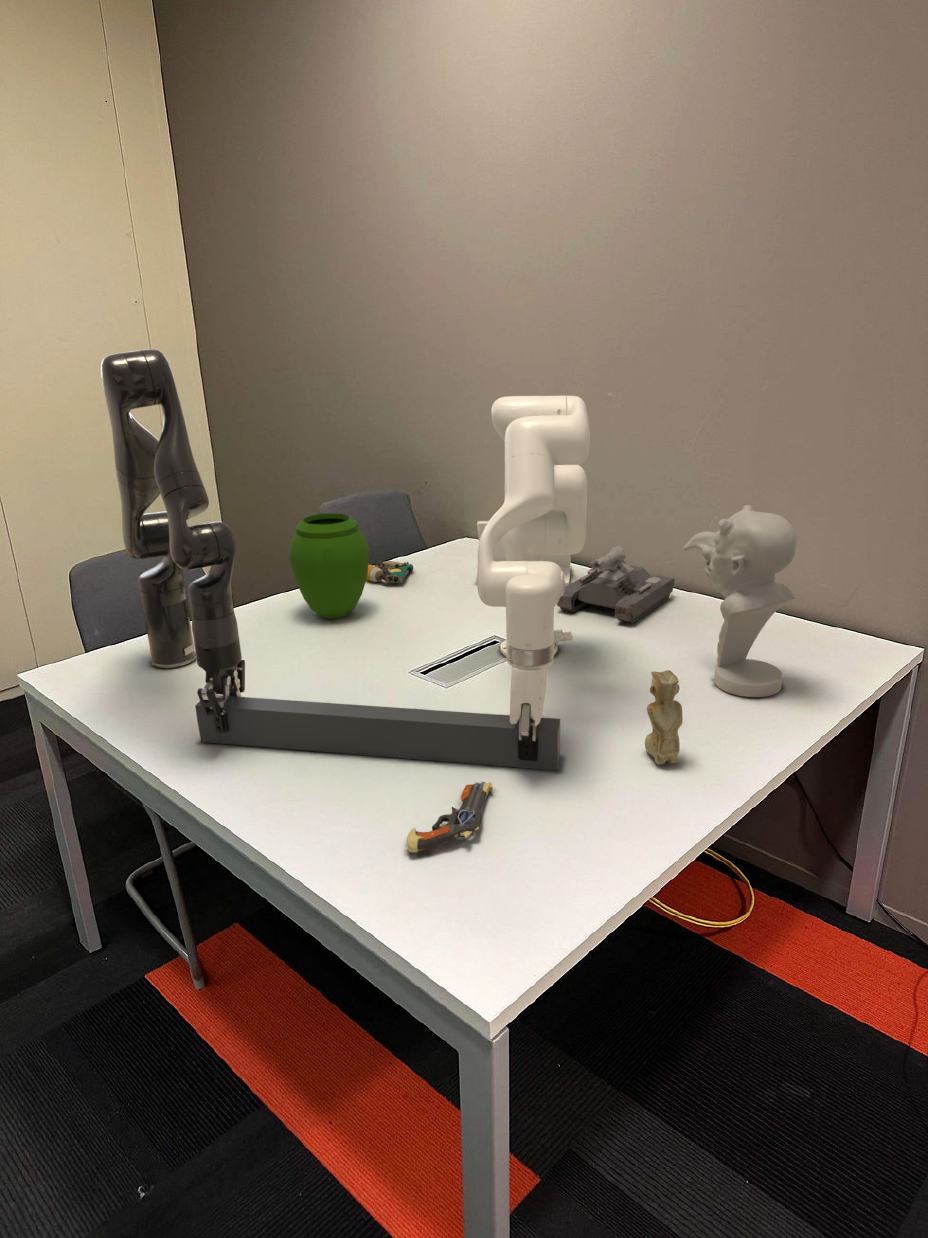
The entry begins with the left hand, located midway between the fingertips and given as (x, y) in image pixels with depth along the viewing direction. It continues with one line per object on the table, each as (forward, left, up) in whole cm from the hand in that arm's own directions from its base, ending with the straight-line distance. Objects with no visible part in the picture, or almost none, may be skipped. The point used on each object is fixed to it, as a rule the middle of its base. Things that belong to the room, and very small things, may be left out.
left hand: (229, 725), depth 153 cm
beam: (+18, +20, -3) cm, 27 cm away
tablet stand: (-48, +98, -3) cm, 109 cm away
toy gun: (+44, +21, -3) cm, 49 cm away
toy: (-15, +102, -3) cm, 104 cm away
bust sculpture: (+32, +92, -3) cm, 97 cm away
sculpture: (+47, +59, -3) cm, 76 cm away
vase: (-50, +41, -3) cm, 65 cm away
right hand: (+36, +40, -1) cm, 54 cm away
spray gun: (-69, +66, -3) cm, 96 cm away
